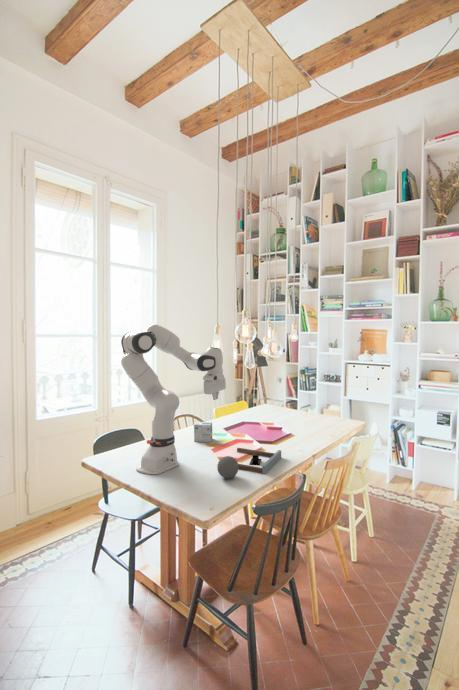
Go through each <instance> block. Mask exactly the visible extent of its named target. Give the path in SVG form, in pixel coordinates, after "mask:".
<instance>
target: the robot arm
mask: <svg viewBox="0 0 459 690" xmlns="http://www.w3.org/2000/svg"><path fill="white" fill-rule="evenodd" d="M120 341H121V348H122V352H123V354H124V356H123V357H122V358H121V361H120V363H121V366H122V368H123V370H124V372H125V373H126V375H127V376H128V377H129V379H130V380H131V381H132V382H133V384H134V385H135V386H136V387H137V388H138V389H139V391H140V392H141V394H142V396H143V397H144V399H145V401H147V404H149V406H150V407H151V408H154V417H153V420H152V421H151V437H150V439H147V440H146V444H147V445H149V446H148V447H147V449H146V451H145V452H144V454H143V455H142V457H141V460H140V464H139V465H138V466H137V467H136V468H135V469H136V471H137V472H139V473H141V474H146V475H159V474H162V473H165V472H167V471H169V470H171V469H173V468H176V467H178V466H179V465H180V462H179V461H178V455H177V449H176V446H175V439H176V438H175V433H174V431H175V429H174V423H175V422H174V419H175V414H176V412H177V409H179V406H180V398H179V396H178V395H177V394H175V392H173V391H171V390H168V389H166V388H165V387H163V385H162V384H161V382H160V379H159V377H158V375H157V374H156V373H155V371H154V370H153V369H152V367H151V366H150V365H149V364H148V362H147V361H146V359H145V357H144V354H147V353H149V352H150V351H151V350H152V349H153V347H155V348H157V349H158V350H160V351H162V352H164V353H166V354H169V355H172V356H174V357H176V358H177V359H178V360H180V361H182V363H183V364H184V365H185V367H186V368H187V369H188V370H189V371H190V370H191V371H198V372H206V373H205V374H204V376H203V377H202V381H203V393H204V395H211V396H212V401H213V400H214V401H216V400H218V399H219V395H220V391H223V390H226V389H227V388H226V387H227V382H226V377H225V375H224V369H223V361H224V360H223V351H222V350H221V348H218V347H208V348H207V349H206V350H205V351H203V352H201V353H197V352H190V351H188V350H186V349H185V348H184V347H182V346H181V340H180V338H179V337H178V335H177V334H175V333H174V332H172V331H171V330H170V329H168V328H166V327H163V326H161V325H159V324H156V323H152V324H150V325H148V326H147V327H146V328H145V331H143V330H141V331H140V330H135V331H128V332H127V333H125V334H124V335H123V336H122V337H121V340H120Z"/></svg>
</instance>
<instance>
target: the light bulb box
mask: <svg viewBox="0 0 459 690" xmlns="http://www.w3.org/2000/svg"><path fill="white" fill-rule="evenodd" d="M193 436H194V437H193V441H194V442H198V443H199V442H201V443H202V442H203V443H211V442H212V440H213V422H211V421H209V422H207V421H204V422H203V421H202V422H201V421H195V423H194V424H193Z"/></svg>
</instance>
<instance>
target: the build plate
mask: <svg viewBox="0 0 459 690" xmlns="http://www.w3.org/2000/svg"><path fill="white" fill-rule="evenodd" d="M261 463H262V458H260V456H259V453H253V454H252V457H251V460H250V461H249V464H248V465H249V466H257V467H258V466H259V467H260V466H261Z"/></svg>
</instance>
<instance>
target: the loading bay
mask: <svg viewBox="0 0 459 690" xmlns="http://www.w3.org/2000/svg"><path fill="white" fill-rule="evenodd" d="M236 452H237V453H242V454H247V455H253V453H259V457H266V458H268V460H266V461H265V463H263V464H262V466H261V467H260V466H259V467H258V466H255V465H249V464H241V463H238V466H239V469H238V470H243V471H248V472H253V473H259V474H263V475H267V473H269V471H270V470H271V469H273V467H274V466H275V465H276V464H277V463H278V462H279V461H280V459H282V450H280V449H279V450H277V451H276V452H270V451H269V452H268V451H261V450H256V449H250V448H243V447H237V449H236Z"/></svg>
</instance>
